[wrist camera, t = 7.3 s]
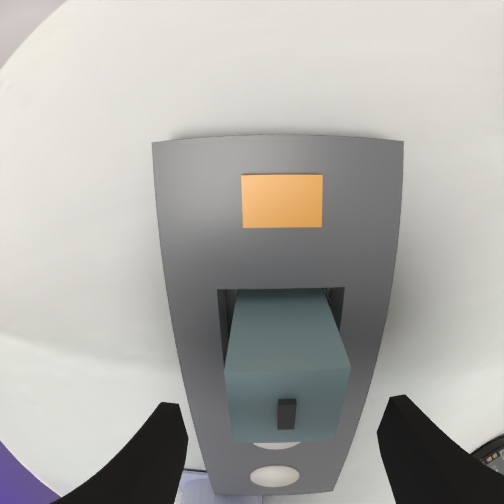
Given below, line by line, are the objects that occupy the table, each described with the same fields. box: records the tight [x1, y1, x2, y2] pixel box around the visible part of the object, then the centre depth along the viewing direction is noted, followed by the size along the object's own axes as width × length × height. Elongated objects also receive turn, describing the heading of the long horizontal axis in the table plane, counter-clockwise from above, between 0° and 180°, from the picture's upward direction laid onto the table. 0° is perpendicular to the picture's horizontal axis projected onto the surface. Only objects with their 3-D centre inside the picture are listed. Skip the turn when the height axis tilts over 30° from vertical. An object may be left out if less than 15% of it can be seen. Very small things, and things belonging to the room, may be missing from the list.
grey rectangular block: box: [224, 288, 351, 443], centre depth 13 cm, size 4×4×7 cm
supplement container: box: [471, 437, 504, 475], centre depth 18 cm, size 10×10×12 cm
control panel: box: [152, 135, 404, 495], centre depth 16 cm, size 26×10×3 cm, turn 2°
